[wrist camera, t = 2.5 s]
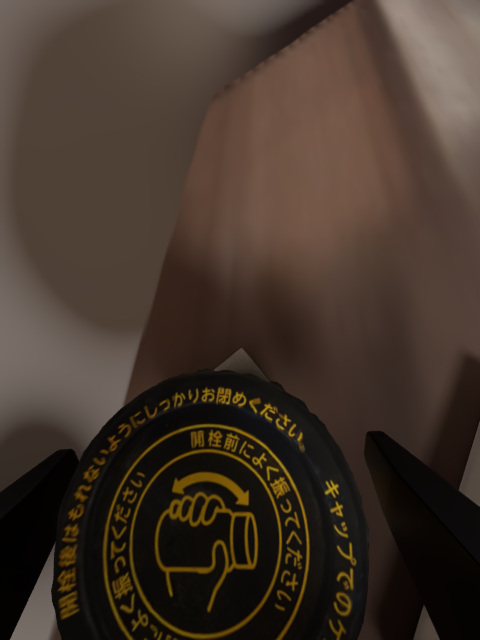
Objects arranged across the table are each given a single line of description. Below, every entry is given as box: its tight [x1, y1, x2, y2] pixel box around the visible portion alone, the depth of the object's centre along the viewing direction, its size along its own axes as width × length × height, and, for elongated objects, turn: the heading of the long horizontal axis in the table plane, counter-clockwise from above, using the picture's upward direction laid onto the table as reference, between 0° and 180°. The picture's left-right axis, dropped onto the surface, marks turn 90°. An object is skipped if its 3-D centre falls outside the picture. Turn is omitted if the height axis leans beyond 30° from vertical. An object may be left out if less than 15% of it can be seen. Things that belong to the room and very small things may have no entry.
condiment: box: [51, 347, 369, 640], centre depth 10 cm, size 7×8×12 cm
